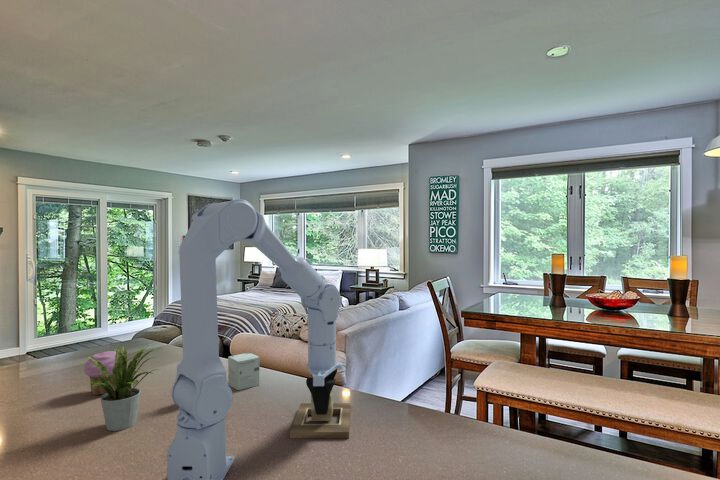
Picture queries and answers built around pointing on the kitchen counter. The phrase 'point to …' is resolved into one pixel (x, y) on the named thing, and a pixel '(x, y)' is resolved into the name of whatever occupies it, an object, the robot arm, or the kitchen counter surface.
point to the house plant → (121, 390)
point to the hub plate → (321, 430)
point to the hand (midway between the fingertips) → (322, 409)
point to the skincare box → (243, 371)
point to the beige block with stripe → (322, 417)
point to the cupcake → (91, 371)
